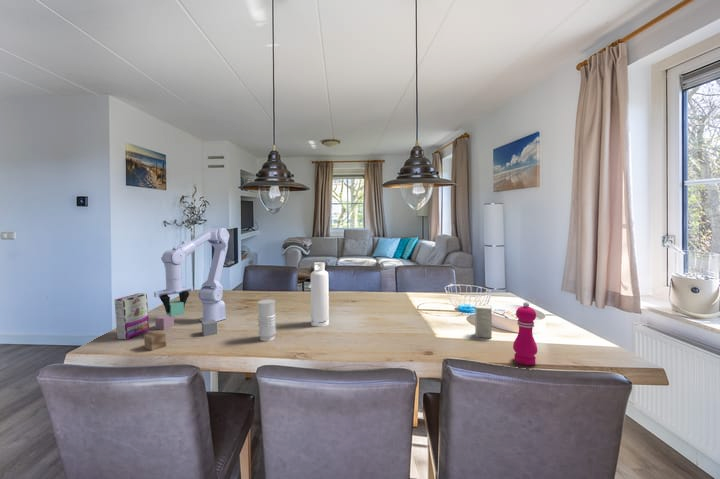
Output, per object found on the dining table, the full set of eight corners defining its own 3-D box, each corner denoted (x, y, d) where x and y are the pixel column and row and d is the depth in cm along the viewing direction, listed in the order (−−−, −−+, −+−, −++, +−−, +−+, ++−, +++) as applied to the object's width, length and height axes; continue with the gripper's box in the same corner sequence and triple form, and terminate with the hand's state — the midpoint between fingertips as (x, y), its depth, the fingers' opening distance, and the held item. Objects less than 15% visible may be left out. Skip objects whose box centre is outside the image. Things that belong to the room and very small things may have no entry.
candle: (260, 342, 126) (259, 304, 125) (257, 337, 132) (256, 300, 132) (278, 339, 129) (277, 302, 129) (274, 334, 136) (273, 298, 135)
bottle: (307, 325, 147) (306, 263, 145) (316, 320, 154) (316, 261, 153) (323, 327, 144) (323, 264, 142) (332, 322, 151) (331, 262, 150)
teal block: (179, 312, 140) (178, 300, 140) (184, 314, 137) (183, 302, 137) (166, 314, 136) (166, 302, 136) (171, 316, 133) (170, 304, 133)
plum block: (165, 325, 148) (165, 314, 148) (174, 326, 146) (173, 315, 146) (155, 328, 143) (155, 317, 143) (164, 330, 142) (163, 318, 141)
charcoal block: (214, 330, 141) (214, 319, 140) (217, 334, 136) (216, 322, 136) (202, 333, 138) (201, 321, 137) (204, 336, 134) (203, 324, 133)
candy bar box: (139, 330, 142) (138, 292, 141) (149, 330, 141) (147, 293, 140) (115, 339, 131) (113, 299, 130) (126, 340, 130) (124, 299, 129)
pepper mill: (514, 354, 114) (516, 298, 113) (538, 359, 110) (539, 301, 109) (510, 362, 108) (512, 302, 107) (535, 367, 104) (537, 306, 103)
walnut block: (158, 344, 126) (157, 331, 126) (166, 346, 123) (165, 333, 123) (144, 348, 121) (144, 335, 121) (152, 351, 119) (151, 337, 119)
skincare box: (491, 334, 134) (491, 305, 133) (491, 338, 129) (492, 308, 129) (474, 333, 136) (475, 304, 135) (474, 336, 131) (475, 307, 131)
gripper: (157, 282, 128) (159, 316, 129) (195, 277, 139) (197, 308, 140) (151, 280, 132) (153, 313, 133) (188, 275, 143) (189, 306, 144)
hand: (175, 310), depth 137 cm, fingers closed on teal block, 5 cm apart
